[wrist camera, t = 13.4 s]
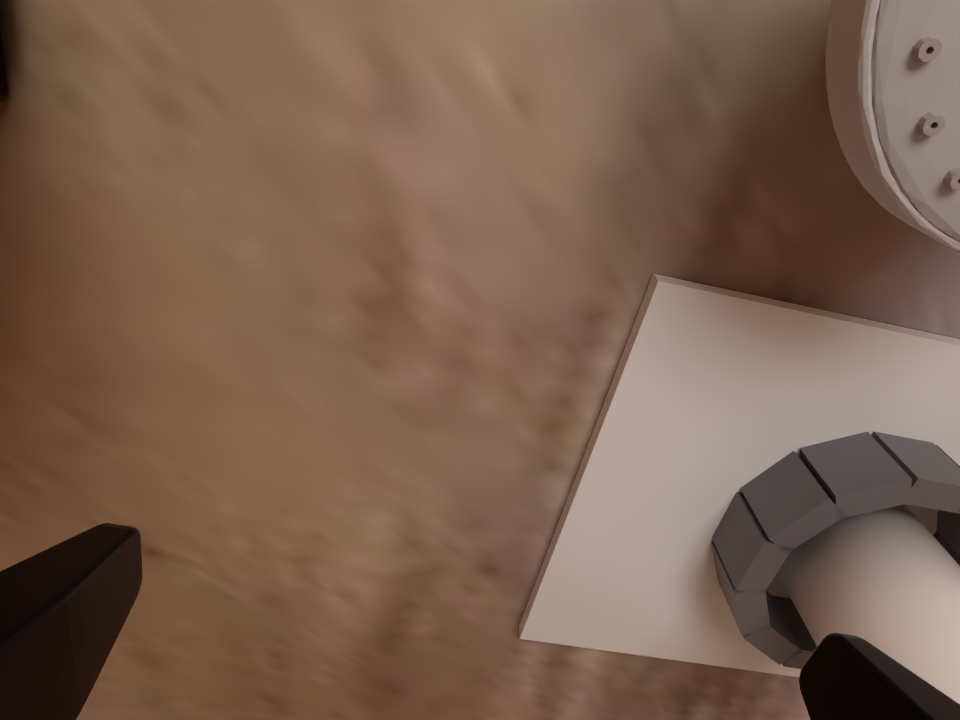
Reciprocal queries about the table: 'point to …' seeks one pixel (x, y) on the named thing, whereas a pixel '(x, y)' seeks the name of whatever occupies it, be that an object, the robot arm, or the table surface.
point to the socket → (741, 473)
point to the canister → (882, 591)
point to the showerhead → (900, 106)
